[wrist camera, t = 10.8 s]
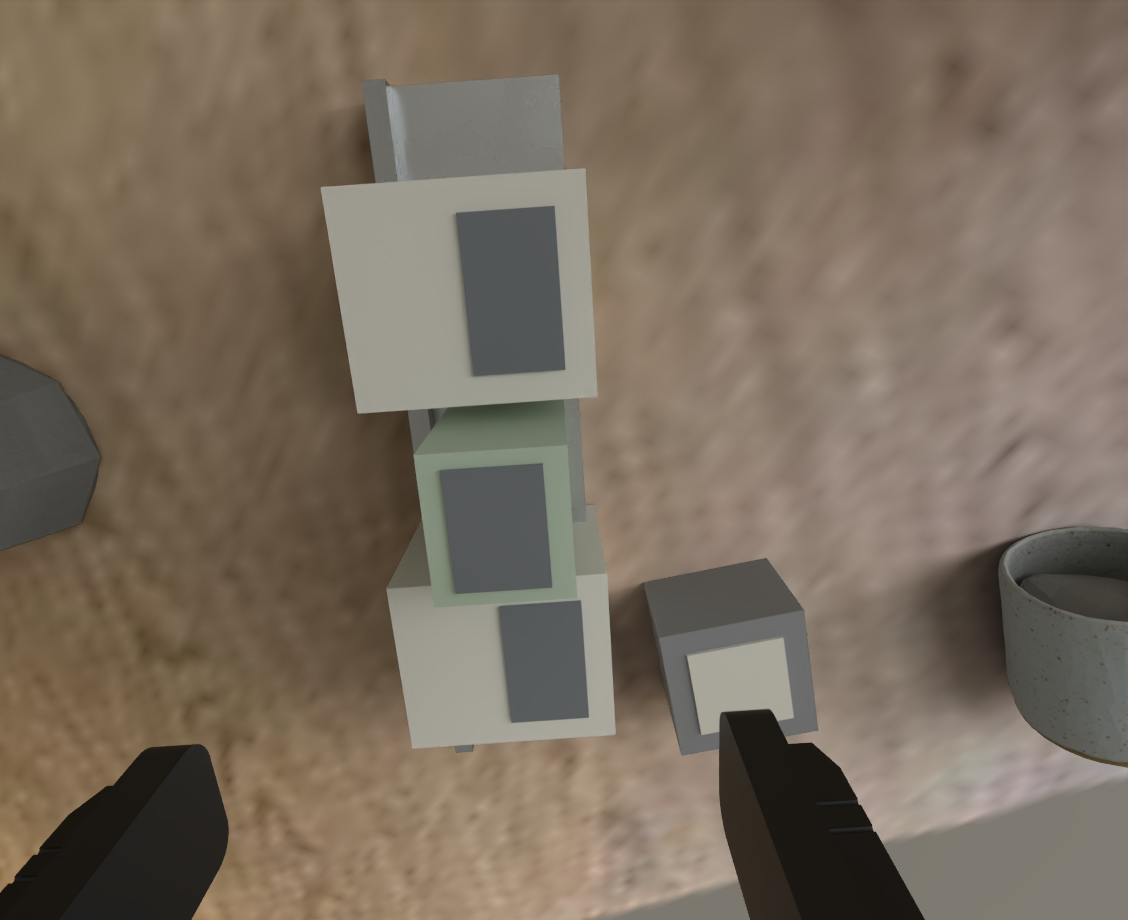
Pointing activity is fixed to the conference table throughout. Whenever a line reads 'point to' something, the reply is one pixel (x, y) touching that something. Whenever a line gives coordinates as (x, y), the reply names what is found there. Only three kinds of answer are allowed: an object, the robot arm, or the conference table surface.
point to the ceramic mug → (1070, 637)
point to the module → (497, 504)
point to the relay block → (731, 650)
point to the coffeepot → (41, 456)
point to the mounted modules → (480, 377)
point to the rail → (471, 171)
